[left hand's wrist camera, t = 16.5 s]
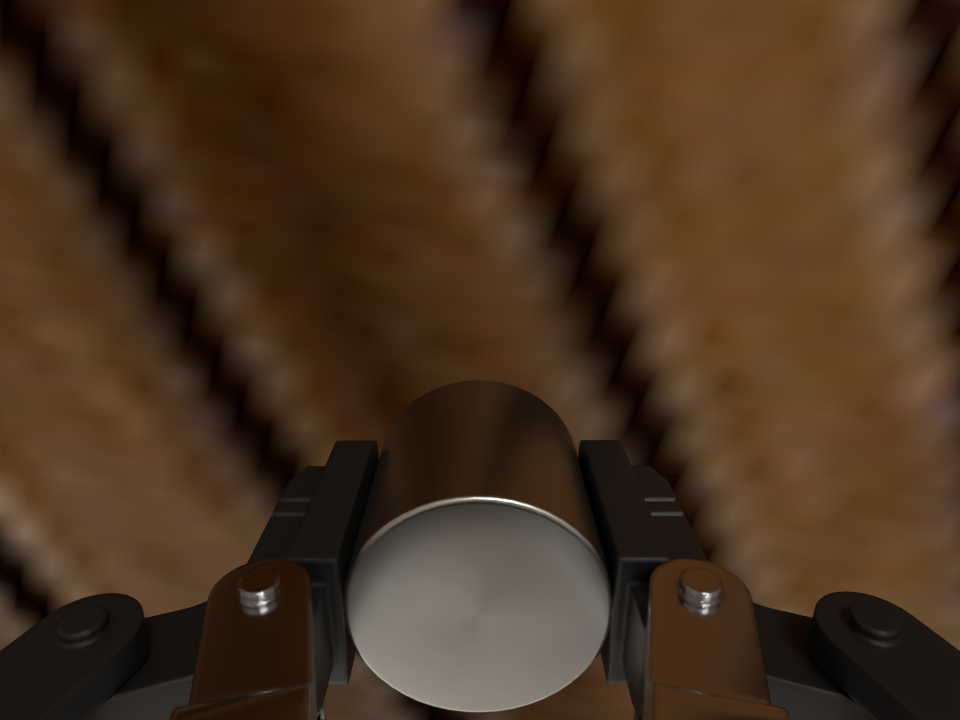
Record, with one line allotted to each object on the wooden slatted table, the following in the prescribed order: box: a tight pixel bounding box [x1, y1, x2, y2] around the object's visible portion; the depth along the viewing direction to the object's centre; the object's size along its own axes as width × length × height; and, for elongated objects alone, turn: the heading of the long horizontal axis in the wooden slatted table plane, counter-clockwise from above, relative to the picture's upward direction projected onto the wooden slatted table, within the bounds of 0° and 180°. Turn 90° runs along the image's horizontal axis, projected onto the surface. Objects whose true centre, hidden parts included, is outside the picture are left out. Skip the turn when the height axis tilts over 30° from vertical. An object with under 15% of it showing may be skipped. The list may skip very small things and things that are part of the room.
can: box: [344, 380, 613, 713], centre depth 11 cm, size 4×4×4 cm
